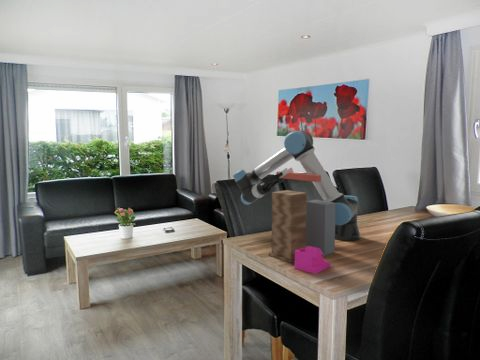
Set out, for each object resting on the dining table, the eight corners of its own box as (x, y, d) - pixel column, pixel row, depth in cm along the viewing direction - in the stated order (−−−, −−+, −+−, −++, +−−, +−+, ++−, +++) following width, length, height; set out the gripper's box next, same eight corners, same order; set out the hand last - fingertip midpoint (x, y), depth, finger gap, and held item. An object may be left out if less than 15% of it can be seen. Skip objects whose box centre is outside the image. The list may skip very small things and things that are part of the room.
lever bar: (276, 177, 204) (276, 171, 204) (280, 177, 206) (280, 171, 206) (317, 182, 185) (317, 175, 184) (320, 181, 187) (321, 175, 186)
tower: (268, 255, 183) (268, 192, 180) (285, 250, 191) (286, 189, 187) (291, 262, 173) (292, 195, 169) (308, 257, 181) (309, 192, 177)
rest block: (304, 249, 192) (304, 201, 189) (314, 246, 197) (315, 199, 194) (324, 255, 183) (325, 204, 180) (334, 252, 188) (335, 202, 185)
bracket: (315, 274, 160) (316, 249, 158) (294, 268, 166) (295, 244, 165) (330, 266, 168) (331, 243, 167) (309, 261, 175) (310, 239, 174)
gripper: (274, 193, 220) (302, 175, 203) (253, 196, 209) (281, 178, 192) (269, 181, 222) (297, 162, 205) (248, 184, 211) (276, 164, 194)
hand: (289, 170), depth 199 cm, fingers closed on lever bar, 3 cm apart
